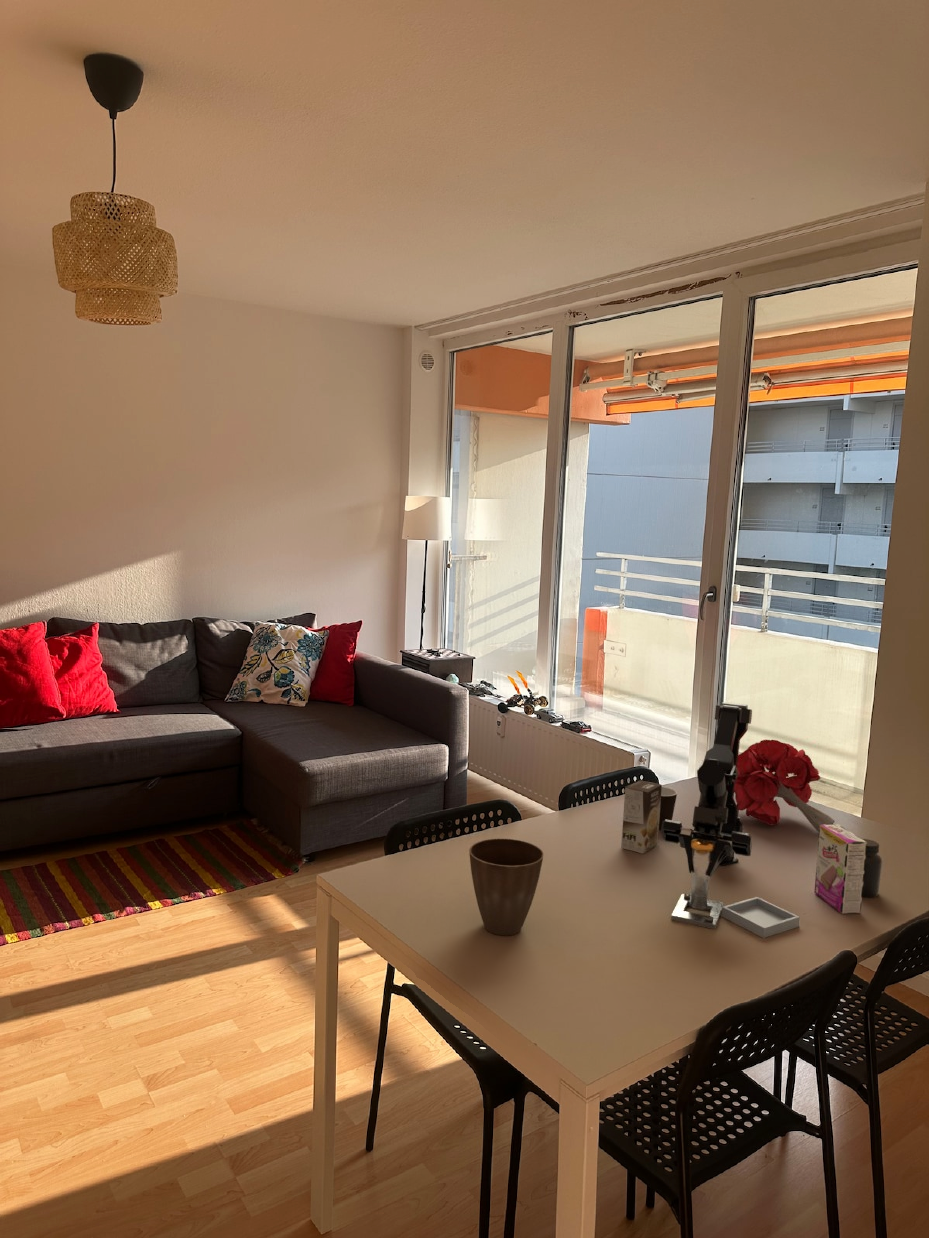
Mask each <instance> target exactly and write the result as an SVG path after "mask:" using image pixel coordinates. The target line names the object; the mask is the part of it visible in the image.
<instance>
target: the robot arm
mask: <svg viewBox="0 0 929 1238" xmlns="http://www.w3.org/2000/svg"><path fill="white" fill-rule="evenodd" d="M752 718H753V709H750V708H748V704H744V703H743V704H742V703H735V702H734V703H733V702H728V701H727V702H725V701H723V702H722V703H721V705H715V710H714V720H716V721H717V729H716V732H715V733H716V734H715V737H714V741H713V746H712V747H710V749H708V750H707V751H706V753H705V754H704V755H705V756H704V759H703V760H701V761H700V764H699V765H698V769H697V770H696V771H697V772H696V774H697V783H698V790H699V793H700V795H699V800H698V805H695V806H694V809H693V815H692V828H693V829H692V828H689V827H684V826H683V825H682V821H677V820H673V819H672V820H667V819H666V820H664V821H663V822H662V826H661V831H660V832H661V836H662V840H663V841H664V842H666V843H673V844H679V846H680V848H683V849H684V850H685V853H686V857H687V866H688V873H689V874H692V864H693V850H694V849H693V848H692V847H691V841H692V840H693V839H706V840H710V841H712V842H713V843H714V844H715V845H714V850H713V851H711V859H710V867H709V872H708V876H709V878H710V877H712V875H713V874H714V872H715V871H716V870H717V867H718V866H721V867H722V866H727V865H730V864H733V863H738V862H739V860H740V859H739V858H737V857H735V855H738V856H744V857H751V855H752V849H753V848H752V847H753V843H752V841H753V840H752V835H751V834H750V833H747V832H744V823H743V822H742V819H741V818H742V817H741V816H739V811H740V810H739V809H738V807H737V803H736V800H735V798H734V797H735V792H734V790H735V781H736V778H737V777H738V770H737V762H738V755H739V753H740V744H741V743H740V742H741V739H742V738H743V737H744V735H745V734H746V733H747V731H748V729H749V725H751V724H752Z"/></svg>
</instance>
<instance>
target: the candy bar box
mask: <svg viewBox="0 0 929 1238" xmlns="http://www.w3.org/2000/svg"><path fill="white" fill-rule="evenodd" d="M862 839H863V838H861V837H859V836H858V835H856V834H854V833H852V832H851V831H850V830H848V829H846V828H845V827H844V826H842V825H840V824H839V823H837V824H836V823H833V824H827V825H826V824H823V825H820V830H819V832H818V842H817V843H818V844H817V856H816V870H815V879H814V880H815V881H814V890H813V892H814V894H815V895H816V896H818V897H820V898H821V900H823V901H824V902H826V903H827V904H828V905H830V906H831V907H832V908H834V909H835V910H836V911H837V912H839V913H840V914H841V915H852V914H861V911H862V901H863V897H862V891H863V880H864V869H865V858H866V847H867V842H866V841H864V840H862Z"/></svg>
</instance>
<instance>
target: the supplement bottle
mask: <svg viewBox="0 0 929 1238" xmlns="http://www.w3.org/2000/svg"><path fill="white" fill-rule="evenodd" d="M861 839H862V840H864V841H866V842H867V847H866V858H865V869H864V880H863V891H862V898H869V899H871V898H872V899H873V898H876V897H877V896H878V895H879V892H880V886H881V885H880V884H881V875H882V869H883V868H882V867H883V859H882V857H881V856H880V854H879V852H880V844H879V842H877V841H876V840H873V839H869V838H861Z"/></svg>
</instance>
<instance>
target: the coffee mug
mask: <svg viewBox="0 0 929 1238" xmlns="http://www.w3.org/2000/svg"><path fill="white" fill-rule="evenodd" d="M677 795H678V791H677V790H675V789H674V788H670V787H667V786H666V787H665V786H662V790H661V804H660V818H659V832H661V826H662V822H663V821H664V820H666V819H667V820H673V819H674V818H673V817H674V812H675V806H676V801H677Z"/></svg>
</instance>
